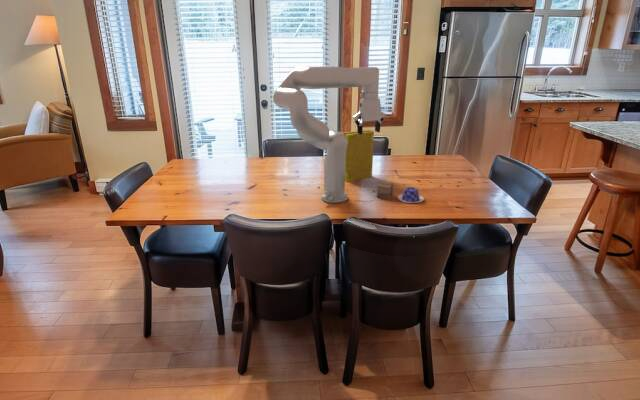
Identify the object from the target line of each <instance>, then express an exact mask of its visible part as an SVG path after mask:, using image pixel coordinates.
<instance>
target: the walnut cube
mask: <svg viewBox="0 0 640 400" xmlns="http://www.w3.org/2000/svg"><path fill="white" fill-rule="evenodd" d="M376 186H377V188H376V189H377V190H376V197H377V198H379V199H385V200H390V199H391V197H392V196H393V192H394V182H386V181H380V182H379V183H378V184H377V185H376Z"/></svg>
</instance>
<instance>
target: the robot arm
mask: <svg viewBox="0 0 640 400" xmlns="http://www.w3.org/2000/svg"><path fill="white" fill-rule="evenodd" d="M379 69H380V68H379V67H376V66H367V67H361V66H360V67H358V66H357V67H344V66H343V67H342V66H296V67H295V68H293V69H292V70H291V71H290V72H289V74H287V76H286V77H285V78H284V79H283V80H282V82H280V84H279V85H278V86H277V88H276V89H275V90H274V93H273V96H272V100H273V102H274V105H275V106H276V107H278V108H279V109H283V110H287V111H289V118H290V123H291V126H292V127H293V128H294V129H295V130H296V133H297V135H298V137H299V138H300V139H301V140H303V141H305V142H306V143H308V144H310V145H312V146H314V147H315V148H317V149H320V150H322V151H326V155H325V157H324V161H323V179H324V180H323V181H324V182H323V183H324V186H323V187H324V189H323V190H324V192H323V193H322V194H321V196H320V198H321V200H322V201H323V202H325V203H332V204H338V203H344V202H346V201H348V199H349V196H348V194H347V193H346V191H345V189H346V188H345V186H346V183H345V182H346V181H345V155H346V149H347V144H348V141H347V138H346V136H345V135H344V134H343V133H341V132H340V131H338V130H334V129H333V130H332V129H330V128H329V127H328V124H326V123H325V122H323V121H322V120H320V119H319V118H317V117H315V116H314V115H313V114H312V113H311V112H310V111H309V107H308V98H307V95H306V93H305V92H304V91H302V89H303V90H304V89H306V90H322V89H344V88H361V93H359V97H360V99H359V103H358V104H359V106H358V112H357V113H356V114H355V115H353V116H352V119H353V122H354V123H355V124H356V127H357V132H358V134H362V132H363V131H364V130H363V124H364V123H365V122H366V123H367V122H375V123H374V132H376V133H380V132H381V124H382V122H383V121H384V119H385V117H386V113H385V112H383V111H382V107H381V106H382V105H381V98H379V84H380V82H379V81H380V70H379Z"/></svg>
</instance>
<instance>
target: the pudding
mask: <svg viewBox="0 0 640 400" xmlns="http://www.w3.org/2000/svg"><path fill="white" fill-rule="evenodd" d="M397 199H398V200H399V201H401V202H403V203H408V204H409V203H410V204H414V203H415V204H416V203H417V204H418V203H422V202H423V201H425V198H424V197H423V196H422V195H419V189H418V188H417V187H413V186H412V187H411V186H410V187H408V186H407V187H405V188H404V190H403V193H401V194H399V195H398V196H397Z"/></svg>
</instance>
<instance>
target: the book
mask: <svg viewBox="0 0 640 400" xmlns="http://www.w3.org/2000/svg"><path fill="white" fill-rule="evenodd" d="M341 133H343V134H344V135H345V136H346V138H347V141H348V144H347V149H346V155H345V182H353V181H357V180H365V179H370V178H372V177H373V160H374V159H373V157H374V137H375V134H374V133H375V130H370V129H369V130H363V132H362V134H358V132H357V131H355V130H354V131H344V132H341Z"/></svg>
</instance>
